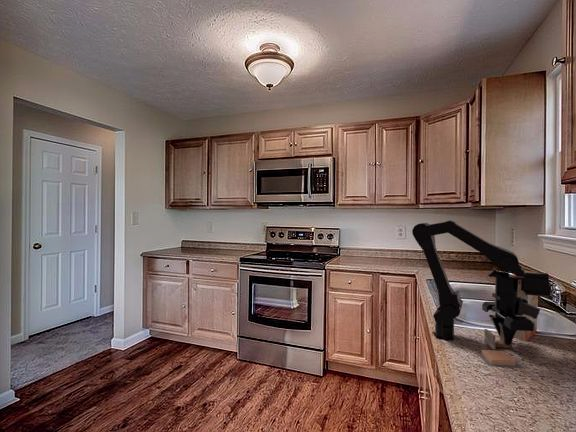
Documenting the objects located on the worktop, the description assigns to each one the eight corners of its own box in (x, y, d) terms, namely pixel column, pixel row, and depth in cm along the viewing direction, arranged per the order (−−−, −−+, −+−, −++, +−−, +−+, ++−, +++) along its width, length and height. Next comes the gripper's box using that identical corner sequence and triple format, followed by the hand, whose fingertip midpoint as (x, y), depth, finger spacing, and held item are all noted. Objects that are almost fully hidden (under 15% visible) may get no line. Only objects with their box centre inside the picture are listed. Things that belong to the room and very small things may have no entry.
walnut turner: (505, 342, 101) (505, 326, 101) (515, 350, 96) (515, 333, 95) (484, 341, 102) (484, 325, 102) (492, 349, 97) (493, 332, 96)
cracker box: (528, 343, 103) (529, 278, 102) (506, 337, 107) (506, 275, 107) (538, 331, 112) (539, 272, 111) (517, 327, 117) (518, 269, 116)
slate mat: (476, 354, 95) (476, 352, 95) (508, 356, 94) (508, 354, 94) (488, 368, 87) (488, 365, 87) (524, 370, 86) (524, 368, 86)
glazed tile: (504, 355, 93) (481, 354, 94) (504, 350, 93) (481, 349, 94) (515, 365, 87) (491, 364, 88) (515, 360, 87) (491, 359, 88)
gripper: (556, 302, 88) (555, 358, 88) (518, 285, 106) (517, 332, 107) (511, 300, 89) (511, 356, 90) (481, 284, 108) (481, 330, 108)
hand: (505, 342), depth 99 cm, fingers closed on walnut turner, 2 cm apart
